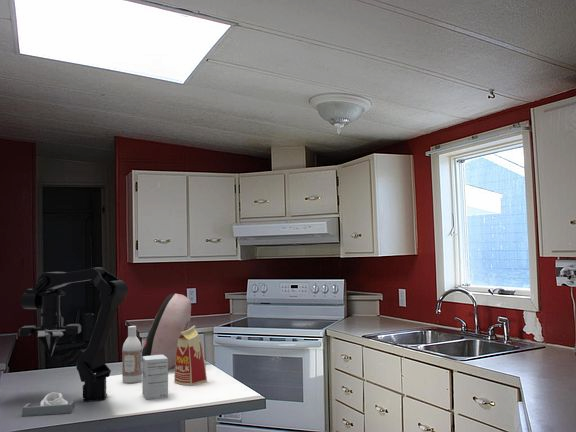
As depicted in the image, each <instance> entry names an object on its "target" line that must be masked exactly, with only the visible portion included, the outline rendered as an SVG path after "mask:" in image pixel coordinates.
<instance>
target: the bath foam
mask: <svg viewBox="0 0 576 432" xmlns="http://www.w3.org/2000/svg"><path fill="white" fill-rule="evenodd" d="M121 351H122V352H121V353H122V355H121V357H122V359H121V360H122V361H121V362H122V366H121V367H122V368H121V369H122V371H121V373H122V383H124V384H136V383H140V382H142V351H143V347H142V342H141V341H140V339H139V338H138V337H137V325H130V326H127V338H126V339H125V341H124V342H123V345H122V350H121Z"/></svg>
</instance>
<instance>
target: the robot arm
mask: <svg viewBox="0 0 576 432" xmlns="http://www.w3.org/2000/svg"><path fill="white" fill-rule="evenodd" d="M87 281H92V282H93V285H94V286H95V288H96V289H97V290H98V291H99V292H100V293H99V300H100V304H101V305H100V309H99V311H98V315H97V317H96V318H97V319H96V322H95V325H94V327H93V331H92V334H91V337H90V340H89V343H88V345H87V348H85V349H80V350H79V352H78V357H77V359H76V361H75V363H76V370H77V372H78V375H79V378H80V382H81V383H84V384H83V385H82V399H83V402H91V401H104V400H105V399H106V398H107V397H108V393H107V378H109V377H110V374H111V371H112V370H111V369H110V368H109V366H108V365H107V364H106V363H105V360H106V353H105V351H104V349H105V346H106V343H107V339H108V337H109V336H108V335H109V332H110V330H111V327H112V323H113V321H114V317H115V315H116V311H117V309H118V307H119V306H120V305H121V304H122V303H123V302H124V299H125V298H126V296H127V293H128V291H129V287H128V285H127V283H126V282H125V281H124V280H121V279H120V278H118V277H117V276H115V275H114V274H112V273H110V272H108V271H107V269H105V268H103V267H101V266H100V267H99V266H97V267H91V268H87V269H81V270H76V271H75V270H74V271H69V272H68V271H67V272H65V271H50V272H49V271H48V272H47V271H46V272H42V273H40V275H39V277H38V280H37V281H36V283H35V285H34V286H33V287H32V288H25V290H24V293H22V295H21V296H20V298H19V303H20V307H21V308H22V309H25V310H40V309H41V313H40V318H41V320H40V324H41V325H40V327H36V325H24V326H22V327H20V328H19V329H18V337H29V336H30V335H32V334H37V336H36V339H39V340H40V341H41V343H42V345H43V347H44V349H45V351H46V353H47V355H48V357H52V356H53V354H54V351H55V348H56V345H57V343H58V341H59V339H60V338H62V336H64V333H66V334H67V335H78V334H80V333H81V332H82V325H81V324H80V323H71V324H70V323H69V324H67V325H65V326H64V321H65V320H64V317H63V316H62V315H61V308H60V307H61V296H66V292H64V290H62V288H63V287H65V286H67V285H70V284H72V283H79V282H87ZM51 333H52V335H51Z"/></svg>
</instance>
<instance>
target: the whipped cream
mask: <svg viewBox="0 0 576 432" xmlns="http://www.w3.org/2000/svg"><path fill="white" fill-rule="evenodd" d="M64 404H69V401H67V400H66V399H64V397H63V394H62V393H61V392H56V391H54V392H53V391H52V392H50V393H48V394H46V395H45V396H44V398H43V399H42V400H41V401H40V405H39V406H48V405H64Z"/></svg>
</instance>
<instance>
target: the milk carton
mask: <svg viewBox="0 0 576 432" xmlns="http://www.w3.org/2000/svg"><path fill="white" fill-rule="evenodd" d="M207 377H208V376H207V369H206V362H205V357H204V352H203V347H202V344H201V339H200V335H199V332H197V330H196V325H193V326H191V327H189V329H188V330H186V331H184V332H181V336H180V337H179V338H178V344H177V351H176V361H175V364H174V379H173V380H174V381H173V382H174V383H175V384H178V385H181V386H194V385H199V384H203V383H207V382H208V378H207Z"/></svg>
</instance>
